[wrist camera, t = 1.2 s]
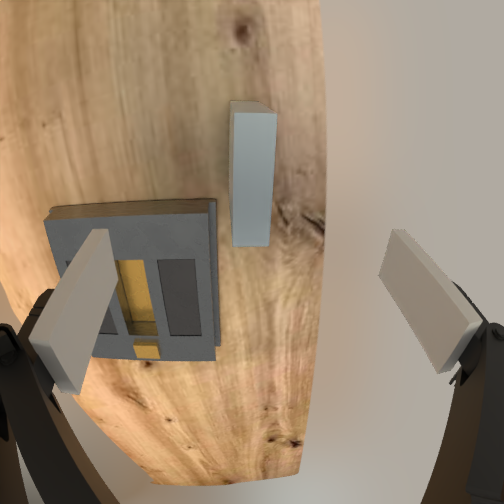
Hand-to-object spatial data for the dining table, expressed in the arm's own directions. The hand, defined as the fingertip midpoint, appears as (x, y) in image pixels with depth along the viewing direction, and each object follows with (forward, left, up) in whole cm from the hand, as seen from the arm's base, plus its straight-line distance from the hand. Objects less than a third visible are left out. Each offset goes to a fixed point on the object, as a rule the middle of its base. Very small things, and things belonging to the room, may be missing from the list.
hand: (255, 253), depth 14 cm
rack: (+14, -11, -17) cm, 25 cm away
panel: (-1, +1, -17) cm, 17 cm away
